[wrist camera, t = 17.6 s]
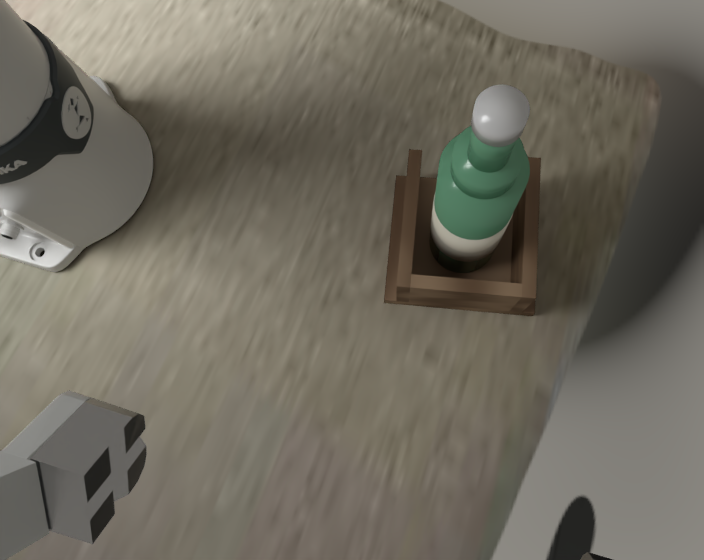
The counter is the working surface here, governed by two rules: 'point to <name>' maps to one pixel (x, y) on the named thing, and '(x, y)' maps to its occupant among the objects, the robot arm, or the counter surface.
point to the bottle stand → (450, 287)
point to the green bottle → (480, 181)
